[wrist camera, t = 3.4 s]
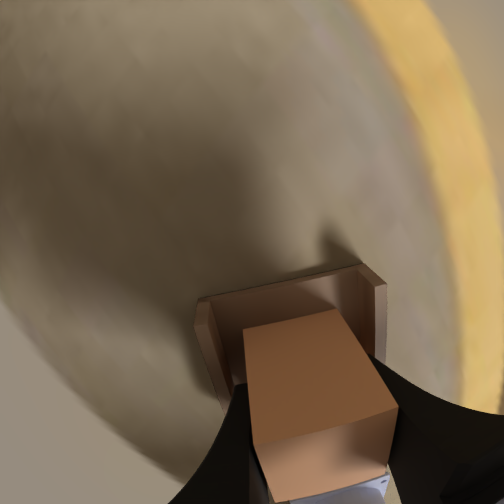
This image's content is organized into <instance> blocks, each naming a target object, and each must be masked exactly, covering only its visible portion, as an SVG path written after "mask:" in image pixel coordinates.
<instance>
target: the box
mask: <svg viewBox="0 0 504 504" xmlns="http://www.w3.org/2000/svg"><path fill="white" fill-rule="evenodd" d="M336 308H337V309H338V311H339V312H340V314H341V315H342V317H343V318H344V320H345V322H346V323H347V325H348V326H349V328H350V329H351V331H352V332H353V334H354V335H355V337H356V339H357V340H358V342H359V343H360V345H361V346H362V348H363V350H364V351H365V353H366V354H371V355H372V356H374V357H375V358H376V359H378V360H379V361H380V362H382V363H383V364H384V365H385V359H386V337H387V283H386V282H385V281H383V280H382V279H381V278H380V277H379V276H378V275H377V274H376V273H375V272H373V271H372V270H371V269H370V268H369V267H368V266H367V265H366V264H364V263H363V264H359V265H355V266H350V267H346V268H342V269H337V270H333V271H329V272H324V273H320V274H315V275H311V276H306V277H302V278H297V279H293V280H288V281H283V282H279V283H274V284H269V285H265V286H260V287H255V288H250V289H245V290H240V291H235V292H230V293H225V294H220V295H215V296H210V297H205V298H200V299H198V303H197V309H196V314H195V319H194V325H193V327H194V331H195V334H196V337H197V340H198V343H199V345H200V348H201V351H202V354H203V357H204V360H205V363H206V366H207V369H208V371H209V374H210V377H211V380H212V382H213V385H214V388H215V391H216V393H217V396H218V399H219V401H220V404H221V406H222V409H223V412H224V414H225V416H226V413H227V410H228V407H229V404H230V401H231V398H232V394H233V389H234V387H235V385H237V384H243V383H247V372H246V360H245V349H244V338H243V329H247V328H252V327H257V326H262V325H267V324H271V323H276V322H281V321H285V320H290V319H294V318H299V317H303V316H307V315H312V314H316V313H320V312H324V311H328V310H332V309H336Z"/></svg>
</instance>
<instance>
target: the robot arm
mask: <svg viewBox="0 0 504 504" xmlns="http://www.w3.org/2000/svg"><path fill="white" fill-rule="evenodd" d="M367 356H368V357H369V359H370V361H371V362H372V364H373V365H374V367H375V369H376V370H377V372H378V373H379V375H380V377H381V378H382V380H383V382H384V383H385V385H386V386H387V388H388V390H389V391H390V393H391V395H392V396H393V398H394V399H395V401H396V403H397V404H398V406H399V408H398V414H397V420H396V425H395V431H394V436H393V441H392V445H391V450H390V455H389V459H388V465H389V468H390V470H391V473H392V476H393V478H394V481H395V484H396V487H397V490H398V493H399V496H400V500H401V503H402V504H504V415H497V414H490V413H485V412H480V411H476V410H472V409H468V408H465V407H462V406H459V405H456V404H453V403H450V402H448V401H445V400H443V399H441V398H438V397H436V396H434V395H432V394H430V393H428V392H426V391H424V390H422V389H421V388H419V387H417V386H415V385H414V384H412V383H411V382H409V381H407V380H406V379H404V378H403V377H401V376H400V375H398V374H397V373H395V372H394V371H393V370H391V369H390V368H388V367H387V366H386V365H384V364H383V363H382V362H380V361H379V360H378V359H376V358H375V357H374V356H372V355H371V354H367ZM389 478H390V475H389V473H388V472H385V474H384V475H381V476H378V477H375V478H372V479H369V480H366V481H363V482H360V483H357V484H354V485H350V486H347V487H343V488H340V489H336V490H333V491H329V492H325V493H321V494H317V495H312V496H308V497H303V498H298V499H293V500H290V504H385V501H384V499H383V498H384V494H385V491H386V488H387V485H388V482H389ZM168 504H269V498H268V491H267V480H266V478H265V475H264V472H263V470H262V467H261V464H260V462H259V459H258V456H257V453H256V450H255V448H254V445H253V435H252V425H251V415H250V404H249V393H248V383H243V384H237V385H235V387H234V389H233V394H232V398H231V401H230V404H229V407H228V410H227V413H226V416H225V418H224V421H223V423H222V426H221V428H220V430H219V432H218V435H217V437H216V439H215V441H214V443H213V445H212V447H211V448H210V450H209V452H208V454H207V455H206V457H205V459H204V460H203V462H202V463H201V465H200V466H199V468H198V469H197V471H196V472H195V473H194V475H193V476H192V477H191V479H190V480H189V481H188V483H187V484H186V485H185V486H184V487H183V488H182V489H181V491H180V492H179V493H178V494H177V495H176V496H175V497H174V498H173V499H172V500H171V501H170V502H169V503H168Z"/></svg>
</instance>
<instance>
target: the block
mask: <svg viewBox="0 0 504 504" xmlns="http://www.w3.org/2000/svg"><path fill="white" fill-rule="evenodd" d="M243 338H244V349H245V360H246V372H247V383H248V393H249V404H250V415H251V425H252V435H253V445H254V448H255V450H256V453H257V456H258V459H259V462H260V464H261V467H262V470H263V472H264V475H265V478H266V480H267V483H268V486H269V488H270V491H271V494H272V496H273V499H274V501H275V503H277V502H283V501H288V500H293V499H298V498H303V497H308V496H312V495H317V494H321V493H325V492H329V491H333V490H336V489H340V488H343V487H347V486H350V485H354V484H357V483H360V482H363V481H366V480H369V479H372V478H375V477H378V476H381V475H384V474H385V471H386V467H387V463H388V459H389V455H390V450H391V445H392V441H393V436H394V431H395V425H396V420H397V414H398V408H399V406H398V404H397V403H396V401H395V399H394V398H393V396H392V395H391V393H390V391H389V390H388V388H387V386H386V385H385V383H384V382H383V380H382V378H381V377H380V375H379V373H378V372H377V370H376V369H375V367H374V365H373V364H372V362H371V361H370V359H369V357H368V356H367V354H366V353H365V351H364V350H363V348H362V346H361V345H360V343H359V342H358V340H357V339H356V337H355V335H354V334H353V332H352V331H351V329H350V328H349V326H348V325H347V323H346V322H345V320H344V318H343V317H342V315H341V314H340V312H339V311H338V309H337V308H336V309H332V310H328V311H324V312H320V313H316V314H312V315H307V316H303V317H299V318H294V319H290V320H285V321H281V322H276V323H271V324H267V325H262V326H257V327H252V328H247V329H243Z"/></svg>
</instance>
